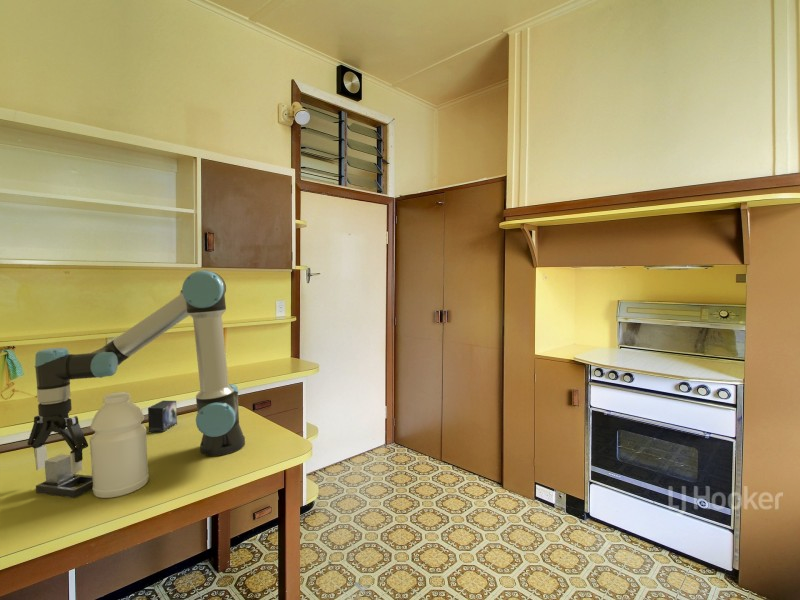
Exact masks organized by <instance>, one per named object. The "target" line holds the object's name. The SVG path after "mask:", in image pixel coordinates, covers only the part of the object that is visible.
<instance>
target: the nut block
mask: <svg viewBox="0 0 800 600" xmlns="http://www.w3.org/2000/svg"><path fill="white" fill-rule="evenodd" d="M44 471H45V473H44V474H45V481H46V485H52V486H58V485H61V484H63V483H65V482H67V481H69V480H71V479H73V474H71V460H70V454H62V453H61V454H58V455H55V456H53V457H50V458H47V460H45V467H44Z"/></svg>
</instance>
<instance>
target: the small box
mask: <svg viewBox="0 0 800 600" xmlns="http://www.w3.org/2000/svg"><path fill="white" fill-rule="evenodd" d="M177 412H178V411H177V400H161V401H159V402H157V403H155V404H152V405H151V406H149V407H147V415H148V418H147V419H148V420H147V421H148V433H149V432H152V433H164V432H166V431H168V430H169V429H171V428H173V427H174V426H176V425H178V413H177ZM175 424H176V425H175ZM172 426H173V427H172ZM170 427H171V428H170ZM167 429H168V430H167Z"/></svg>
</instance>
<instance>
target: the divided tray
mask: <svg viewBox="0 0 800 600" xmlns="http://www.w3.org/2000/svg"><path fill="white" fill-rule="evenodd" d="M81 484H82V485H81ZM79 485H80V486H79ZM77 486H78V487H77ZM92 488H93V480H92V475H87V474H85V475H84V474H79V473H78V474H77V473H75V474H73V479H71V480H69V481H67V482H65V483H63V484H61V485H58V486H52V485H46V480H44V481H43V482H41V483H38V484H36V485H35V493H36V494H41V495H47V496H48V495H49V496H50V495H51V496H58V497H63V498H72V499H76V498H79V496H81V495H83V494H86V493H87V492H89V491H92Z"/></svg>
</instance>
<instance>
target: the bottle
mask: <svg viewBox="0 0 800 600" xmlns="http://www.w3.org/2000/svg"><path fill="white" fill-rule="evenodd" d="M131 399H132V398H131V393H130V392H127V391H126V392H125V391H123V392H121V391H120V392H115V393H109V394H106V395H105V396H103V398H102V403H103V405H102V406H101V407H100V408H99V409H98V410H97V412H96V413H95V415H94V417H93V418H92V421H91V424H90V425H89V426H90V427H89V429H90V430H92V431H93V432H94V433H93V434H92V435H91V436H90V438H89V447H90V463H91V476H92V480H93V488H92V489H91V491H92V493H93V495H94V497H96V498H99V499H107V498H108V499H109V498H112V499H113V498H116V497H122V496H125V495H128V494H131V493H133V492H135V491H137V490H139V489H141V488H143V487H144V486H145V485H146V484H147V483H148V481H149V476H150V474H149V465H148V446H147V427H146V426H144V424H142V422H143V421H144V420H145V414H144V413H143V411H142V410H141V408H140V406H138V405H137V404H136V403H134V402H133V401H131Z"/></svg>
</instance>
